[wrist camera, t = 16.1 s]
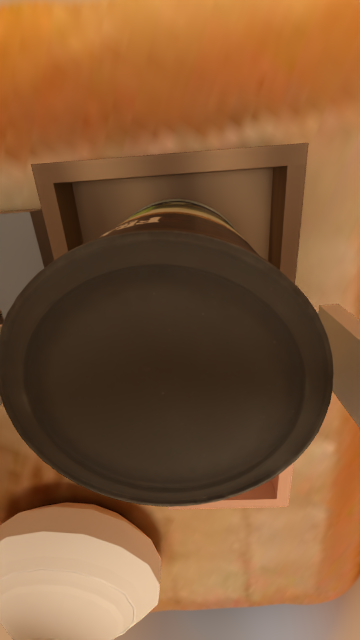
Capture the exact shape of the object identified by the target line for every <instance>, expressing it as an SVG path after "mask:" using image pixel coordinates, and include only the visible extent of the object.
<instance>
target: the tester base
mask: <svg viewBox="0 0 360 640" xmlns="http://www.w3.org/2000/svg"><path fill="white" fill-rule="evenodd" d="M53 261H54V258H53V253H52V249H51V245H50V241H49V237H48V233H47V229H46V225H45V220H44V216H43V212H42V209H34V210H20V211H5V212H0V310H1V313H2V316H0V325H2V324H3V322H4V319H5V317H6V314H7V312H8V311H9V309H10V308H11V306H12V304H13V303H14V301H15V299H16V298H17V296H18V295H19V294H20V292H21V291H22V290H23V289H24V287H25V286H26V285H27V284H28V283H29V282H30V281H31V280H32V279H33V277H34V276H35V275H36V274H37V273H38V272H40V271H41V270H42V269H44V268H45V267H46V266H48V265H49V264H50V263H52V262H53Z"/></svg>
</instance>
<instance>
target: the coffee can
mask: <svg viewBox="0 0 360 640" xmlns="http://www.w3.org/2000/svg"><path fill="white" fill-rule="evenodd" d="M333 375H334V371H333V357H332V352H331V347H330V343H329V339H328V336H327V333H326V331H325V328H324V326H323V324H322V322H321V319H320V317H319V315H318V313H317V312H316V310H315V309H314V307H313V306H312V304H311V303H310V301H309V300H308V299H307V297H306V296H305V295H304V294H303V293H302V291H301V290H300V289H299V288H298V287H297V286H296V285H295V284H294V283H293V282H292V281H291V280H290V279H289V278H288V277H287V276H286V275H285V274H283V273H282V272H281V271H280V270H279V269H278V268H277V267H275V266H274V265H272V264H271V263H270V262H268V261H267V260H266V259H264V258H262V257H261V256H260V255H259V254H258V253H257V252H256V251H255V250H254V249H253V248H252V247H251V246H250V245H249V243H248V242H247V241H245V240H244V239H243V238H242V236H241V235H240V234H239V233H238V232H237V231H236V229H235V228H234V227H233V226H232V224H231V223H230V222H229V221H228V220H227V219H226V218H225V217H224V216H223V215H221V214H220V213H219V212H217V211H216V210H214V209H212V208H211V207H208V206H206V205H204V204H202V203H199V202H195V201H191V200H184V199H168V200H162V201H158V202H155V203H152V204H149V205H147V206H145V207H143V208H141V209H140V210H138V211H137V212H135V213H134V214H133V215H131V216H130V217H129V218H128V219H127V220H126V221H124V222H123V223H121V224H120V225H118V226H117V227H115V228H113V229H112V230H110V231H108V232H107V233H105V234H104V235H102V236H100V237H99V238H97V239H95V240H92V241H89V242H87V243H84V244H82V245H80V246H78V247H76V248H74V249H72V250H70V251H68V252H66V253H65V254H63V255H62V256H60V257H58V258H57V259H56V260H54V261H53V262H52V263H50V264H49V265H48V266H46V267H45V268H44V269H42V270H41V271H40V272H38V273H37V274H36V275H35V276H34V277H33V279H32V280H31V281H30V282H29V283H28V284H27V285H26V286H25V287H24V289H23V290H22V291H21V292H20V294H19V295H18V296H17V298H16V299H15V301H14V303H13V304H12V306H11V308H10V309H9V311H8V312H7V314H6V317H5V319H4V322H3V325H2V328H1V331H0V396H1V399H2V402H3V405H4V407H5V410H6V412H7V414H8V416H9V418H10V419H11V421H12V424H13V425H14V427H15V429H16V430H17V432H18V433H19V435H20V436H21V438H22V439H23V440H24V441H25V442H26V444H27V445H28V446H29V447H30V448H31V449H32V450H33V451H34V452H35V453H36V454H37V455H38V456H39V457H40V458H41V459H42V460H43V461H44V462H45V463H47V464H48V465H50V466H51V467H52V468H53V469H55V470H56V471H57V472H58V473H60V474H62V475H63V476H65V477H66V478H68V479H70V480H71V481H73V482H75V483H77V484H78V485H81V486H83V487H85V488H87V489H89V490H91V491H94V492H96V493H99V494H102V495H105V496H107V497H111V498H114V499H117V500H121V501H126V502H131V503H136V504H141V505H151V506H166V507H174V506H192V505H200V504H206V503H212V502H217V501H221V500H225V499H228V498H231V497H235V496H237V495H240V494H242V493H245V492H248V491H250V490H252V489H254V488H257V487H259V486H261V485H262V484H264V483H266V482H268V481H270V480H272V479H273V478H275V477H276V476H277V475H279V474H280V473H282V472H283V471H284V470H285V469H287V468H288V467H289V466H290V465H291V464H292V463H293V462H295V461H296V460H297V459H298V458H299V456H300V455H301V454H302V453H303V452H304V451H305V450H306V449H307V447H308V446H309V445H310V444H311V442H312V441H313V439H314V438H315V436H316V435H317V433H318V431H319V429H320V427H321V425H322V423H323V421H324V418H325V416H326V413H327V410H328V407H329V404H330V400H331V394H332V389H333Z"/></svg>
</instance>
